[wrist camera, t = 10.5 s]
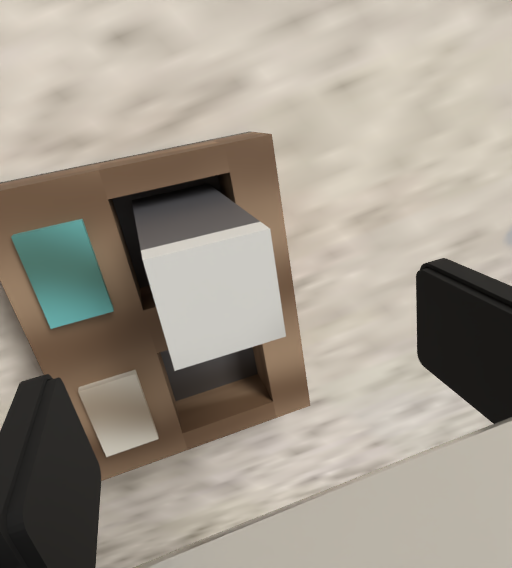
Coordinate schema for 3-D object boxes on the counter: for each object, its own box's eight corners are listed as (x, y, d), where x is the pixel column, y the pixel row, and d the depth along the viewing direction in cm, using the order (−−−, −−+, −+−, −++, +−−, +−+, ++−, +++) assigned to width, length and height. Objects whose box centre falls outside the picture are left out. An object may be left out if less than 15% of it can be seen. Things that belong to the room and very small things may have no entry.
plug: (222, 253, 24) (285, 336, 15) (151, 271, 23) (174, 371, 14) (207, 183, 22) (270, 228, 13) (131, 199, 21) (142, 260, 12)
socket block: (289, 374, 29) (312, 409, 25) (97, 439, 26) (94, 489, 23) (249, 131, 22) (274, 134, 19) (-14, 185, 19) (-42, 200, 16)
